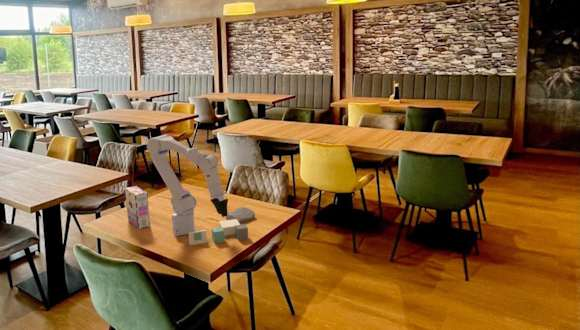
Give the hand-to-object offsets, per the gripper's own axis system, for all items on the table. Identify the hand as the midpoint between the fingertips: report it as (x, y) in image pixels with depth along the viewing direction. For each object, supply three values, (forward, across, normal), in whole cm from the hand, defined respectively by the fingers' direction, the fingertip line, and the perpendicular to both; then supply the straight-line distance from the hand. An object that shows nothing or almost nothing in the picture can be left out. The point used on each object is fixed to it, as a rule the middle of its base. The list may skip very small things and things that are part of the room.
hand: (223, 214), depth 197 cm
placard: (+8, +2, +13) cm, 16 cm away
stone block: (+10, +21, -11) cm, 26 cm away
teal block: (+10, +1, +5) cm, 11 cm away
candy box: (-1, +32, +33) cm, 46 cm away
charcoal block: (+12, 0, -5) cm, 13 cm away
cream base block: (+10, +9, -2) cm, 14 cm away
